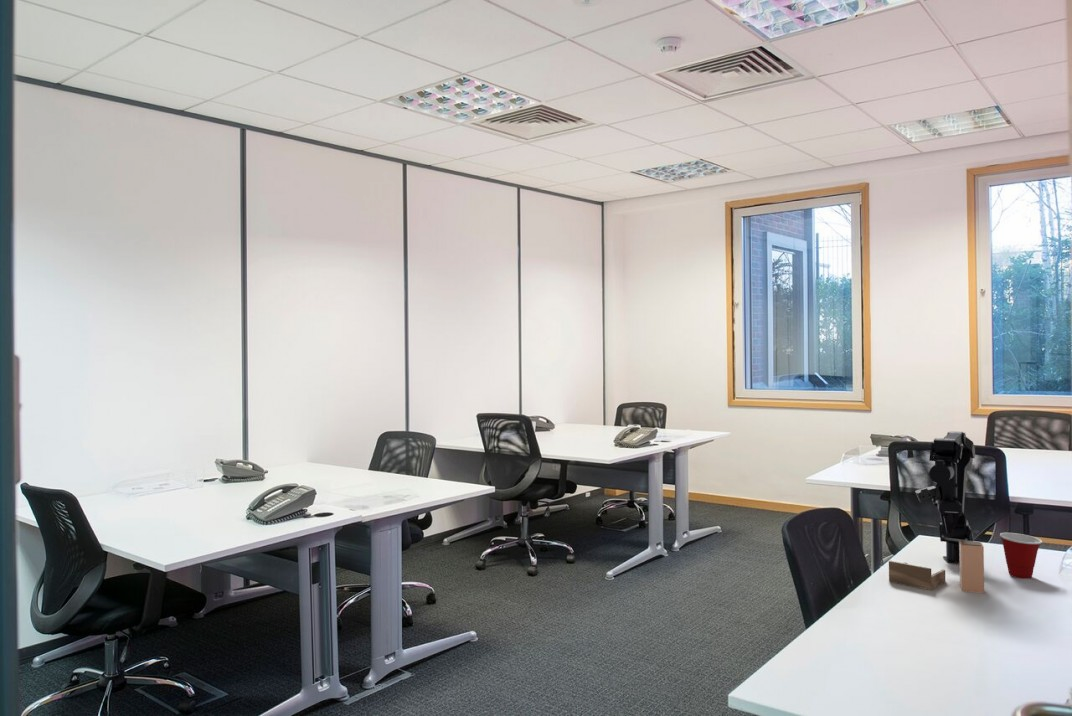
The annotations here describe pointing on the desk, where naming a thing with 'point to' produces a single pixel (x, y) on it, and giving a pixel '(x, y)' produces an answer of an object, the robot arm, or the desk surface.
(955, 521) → the robot arm
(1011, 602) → the desk surface
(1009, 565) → the plastic cup
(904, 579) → the brown l-shaped block
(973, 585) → the tall peach pillar
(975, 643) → the desk surface
